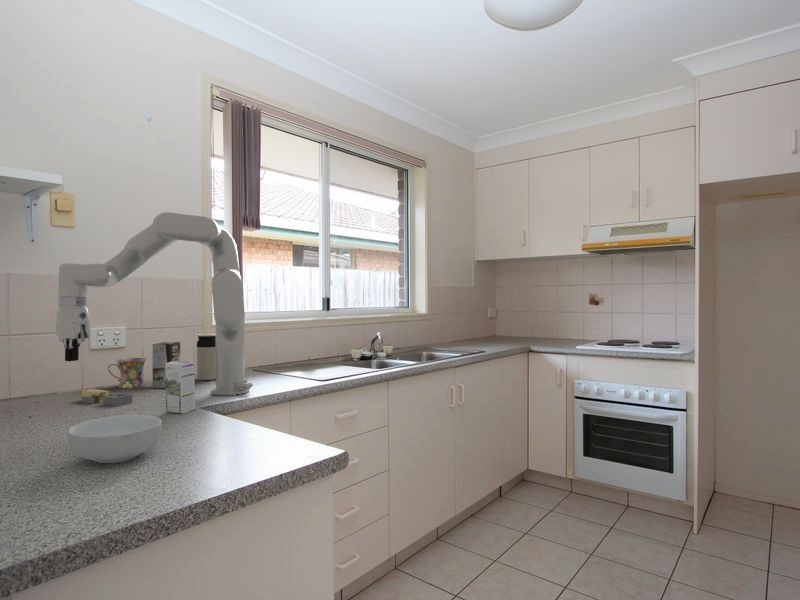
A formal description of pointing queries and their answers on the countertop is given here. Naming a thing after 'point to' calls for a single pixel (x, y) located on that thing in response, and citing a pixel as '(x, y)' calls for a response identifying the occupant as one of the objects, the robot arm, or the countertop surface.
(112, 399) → the grey tray
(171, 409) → the syrup box
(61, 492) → the countertop surface
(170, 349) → the coffee box
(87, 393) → the latch bolt
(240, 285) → the robot arm
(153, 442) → the cereal bowl
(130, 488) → the countertop surface
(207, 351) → the travel mug
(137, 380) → the mug
